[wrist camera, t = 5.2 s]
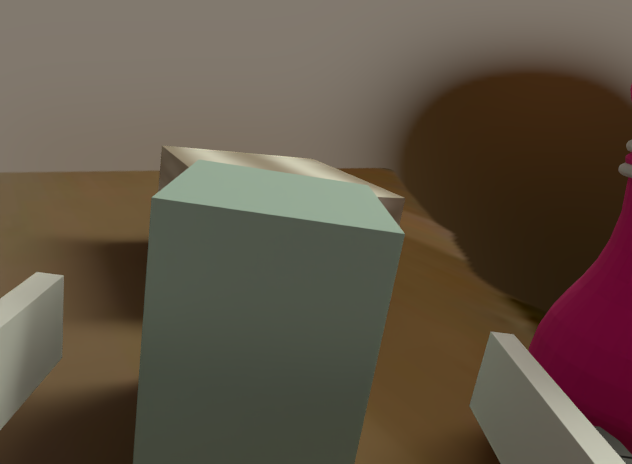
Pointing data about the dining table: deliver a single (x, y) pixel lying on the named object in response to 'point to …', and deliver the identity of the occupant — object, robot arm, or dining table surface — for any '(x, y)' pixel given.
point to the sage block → (261, 317)
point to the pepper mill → (596, 332)
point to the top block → (183, 158)
